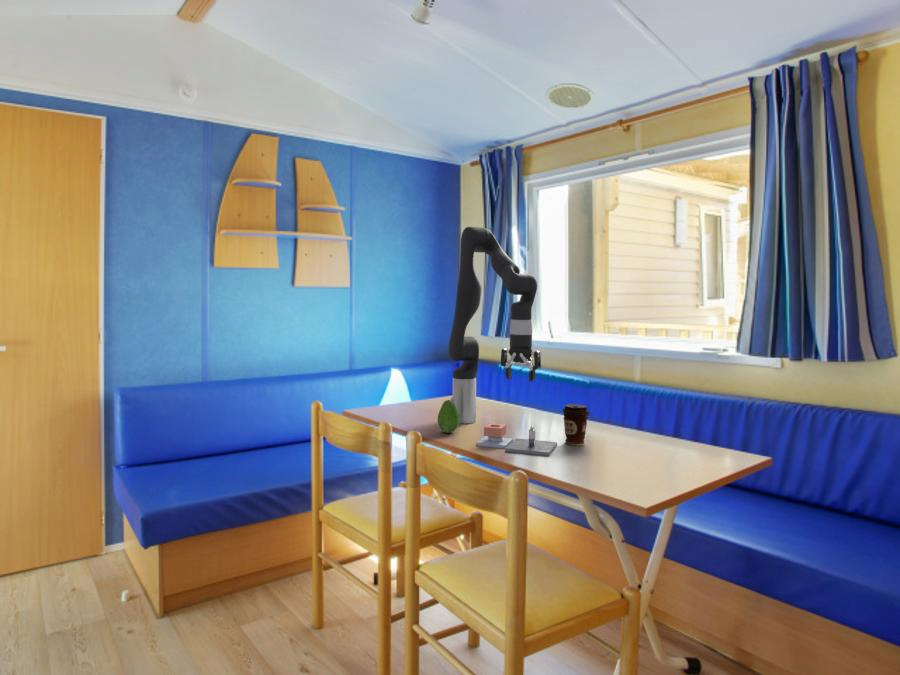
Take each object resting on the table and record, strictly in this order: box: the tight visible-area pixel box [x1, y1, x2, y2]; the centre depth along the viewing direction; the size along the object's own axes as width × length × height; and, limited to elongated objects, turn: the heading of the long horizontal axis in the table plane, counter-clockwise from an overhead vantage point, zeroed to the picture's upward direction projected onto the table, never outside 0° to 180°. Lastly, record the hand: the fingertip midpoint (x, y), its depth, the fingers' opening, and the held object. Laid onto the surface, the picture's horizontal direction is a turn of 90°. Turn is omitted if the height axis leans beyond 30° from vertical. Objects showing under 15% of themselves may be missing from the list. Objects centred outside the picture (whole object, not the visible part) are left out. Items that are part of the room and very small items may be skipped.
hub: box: [504, 426, 558, 457], centre depth 200 cm, size 14×14×7 cm
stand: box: [475, 436, 514, 449], centre depth 206 cm, size 10×10×6 cm
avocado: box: [437, 399, 460, 434], centre depth 221 cm, size 8×8×12 cm
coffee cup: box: [562, 403, 590, 447], centre depth 207 cm, size 9×8×13 cm
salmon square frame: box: [483, 423, 507, 438], centre depth 206 cm, size 6×6×3 cm
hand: (520, 380), depth 210 cm, fingers open, 8 cm apart
